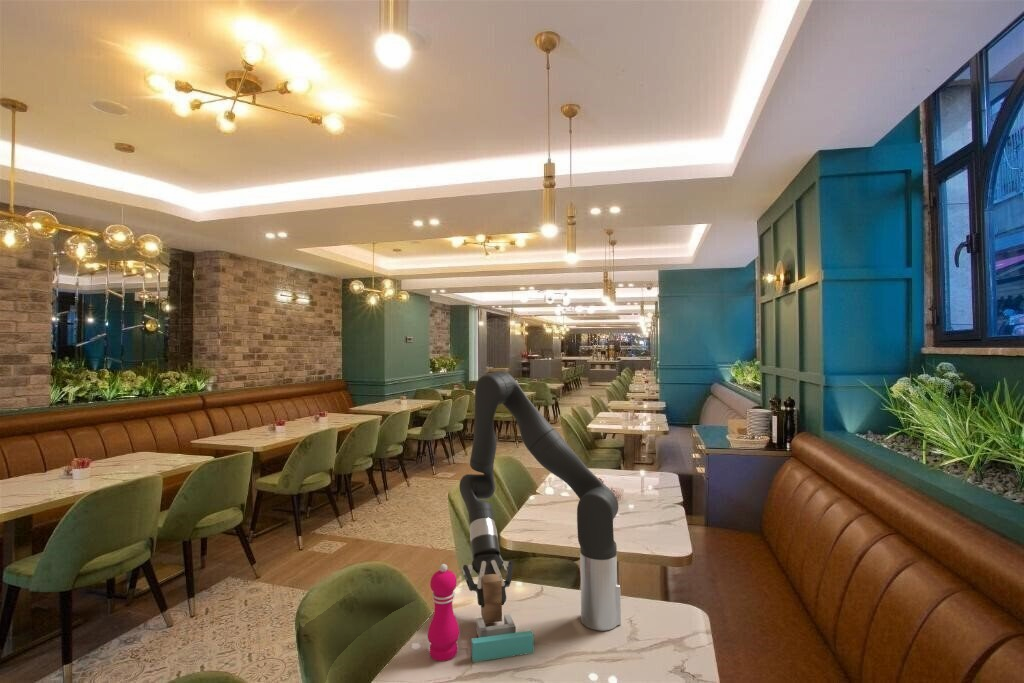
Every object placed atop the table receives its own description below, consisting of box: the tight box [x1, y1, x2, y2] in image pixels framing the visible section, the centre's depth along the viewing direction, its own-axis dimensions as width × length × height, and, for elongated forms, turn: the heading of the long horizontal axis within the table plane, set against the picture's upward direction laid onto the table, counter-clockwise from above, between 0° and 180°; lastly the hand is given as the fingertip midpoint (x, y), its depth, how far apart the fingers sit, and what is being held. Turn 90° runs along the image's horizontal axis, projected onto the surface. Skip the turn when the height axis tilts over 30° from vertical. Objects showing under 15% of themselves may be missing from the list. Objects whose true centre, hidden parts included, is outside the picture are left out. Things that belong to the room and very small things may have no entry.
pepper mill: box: [427, 563, 460, 662], centre depth 113 cm, size 7×7×20 cm
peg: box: [480, 574, 503, 624], centre depth 125 cm, size 4×4×10 cm
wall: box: [471, 630, 535, 663], centre depth 112 cm, size 14×2×4 cm, turn 103°
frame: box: [476, 613, 517, 638], centre depth 119 cm, size 8×6×3 cm
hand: (492, 604), depth 123 cm, fingers closed on peg, 4 cm apart
